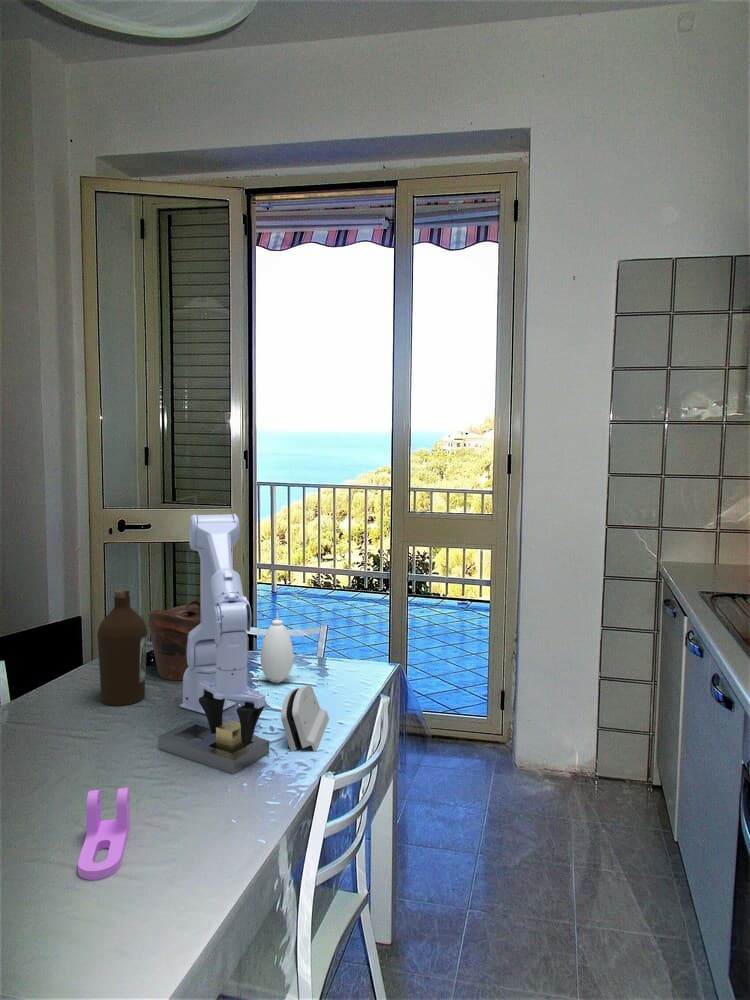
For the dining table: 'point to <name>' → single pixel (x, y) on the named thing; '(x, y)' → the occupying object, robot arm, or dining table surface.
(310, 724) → the grey piece
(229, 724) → the tan rectangular block
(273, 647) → the sauce bottle
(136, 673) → the olive oil
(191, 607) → the terracotta flower pot
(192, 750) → the grey peg hole base
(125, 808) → the bracket
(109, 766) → the dining table surface
